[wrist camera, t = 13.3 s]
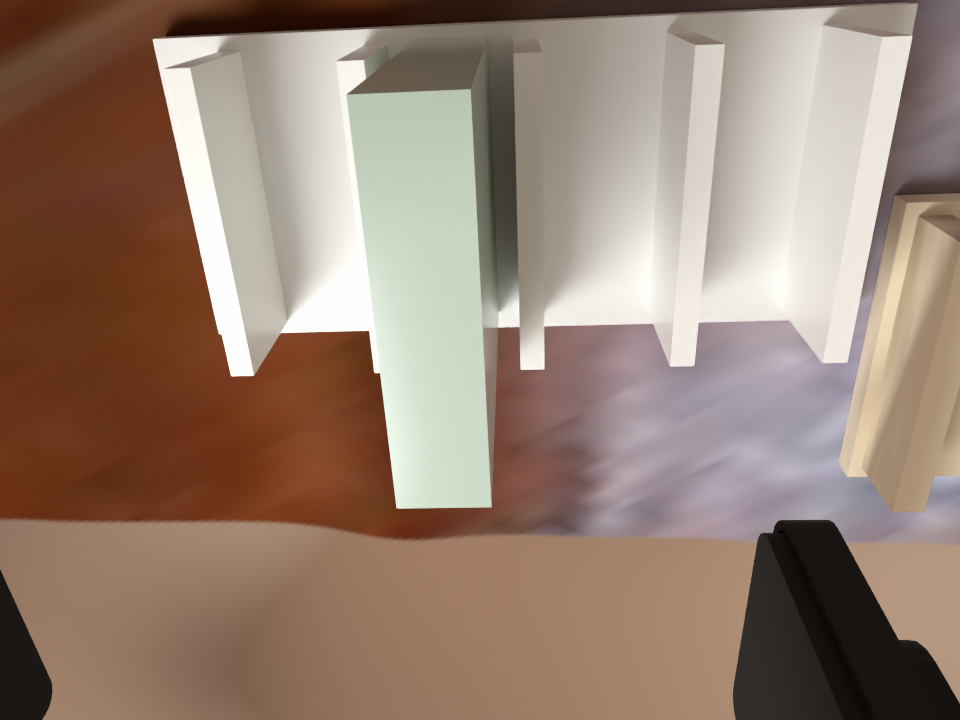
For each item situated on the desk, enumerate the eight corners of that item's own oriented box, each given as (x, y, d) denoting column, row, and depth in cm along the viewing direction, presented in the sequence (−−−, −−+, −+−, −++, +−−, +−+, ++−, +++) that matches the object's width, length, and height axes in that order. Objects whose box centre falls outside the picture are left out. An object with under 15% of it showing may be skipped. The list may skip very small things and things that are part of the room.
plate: (488, 35, 25) (470, 88, 15) (498, 312, 30) (491, 507, 19) (416, 38, 25) (346, 94, 15) (437, 314, 30) (396, 508, 19)
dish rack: (903, 2, 25) (998, 11, 20) (845, 307, 30) (909, 374, 25) (164, 36, 26) (86, 53, 22) (227, 323, 32) (175, 389, 27)
